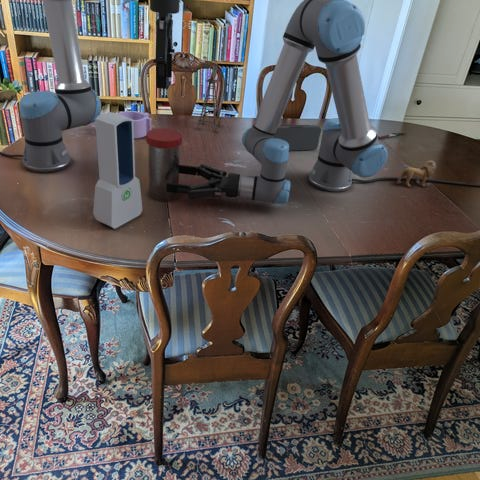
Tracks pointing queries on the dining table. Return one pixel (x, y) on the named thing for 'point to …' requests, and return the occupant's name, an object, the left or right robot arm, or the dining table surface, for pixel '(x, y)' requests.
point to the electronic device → (116, 171)
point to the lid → (164, 138)
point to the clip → (138, 122)
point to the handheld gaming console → (299, 136)
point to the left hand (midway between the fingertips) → (164, 82)
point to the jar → (163, 172)
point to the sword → (390, 135)
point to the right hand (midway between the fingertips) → (171, 177)
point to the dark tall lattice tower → (211, 81)
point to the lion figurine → (418, 173)
